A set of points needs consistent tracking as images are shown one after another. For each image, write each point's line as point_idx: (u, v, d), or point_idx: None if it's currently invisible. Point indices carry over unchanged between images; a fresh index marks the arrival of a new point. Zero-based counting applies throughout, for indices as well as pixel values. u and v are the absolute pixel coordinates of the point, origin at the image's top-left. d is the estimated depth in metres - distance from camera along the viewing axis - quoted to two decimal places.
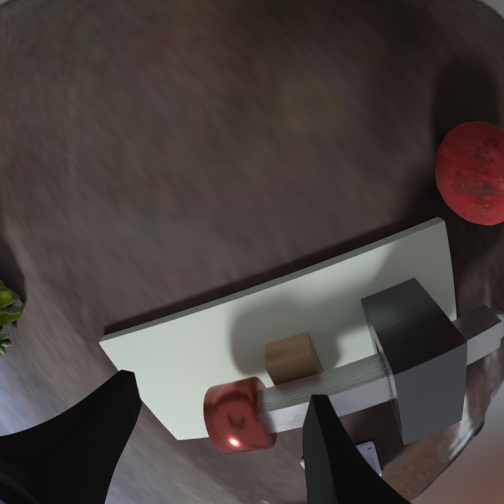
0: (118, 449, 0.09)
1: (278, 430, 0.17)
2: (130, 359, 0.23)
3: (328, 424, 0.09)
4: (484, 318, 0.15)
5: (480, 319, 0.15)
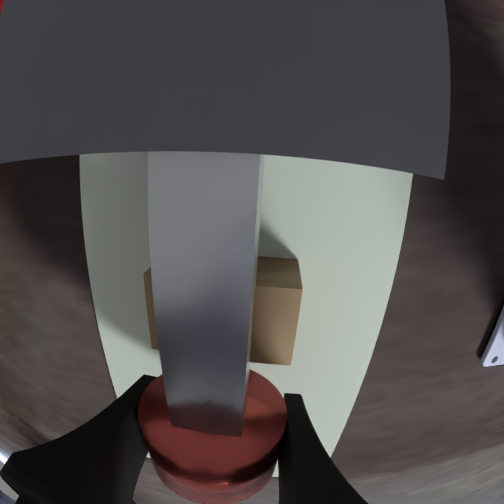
0: (142, 456, 0.09)
1: (236, 424, 0.08)
2: None
3: (297, 423, 0.09)
4: None
5: None
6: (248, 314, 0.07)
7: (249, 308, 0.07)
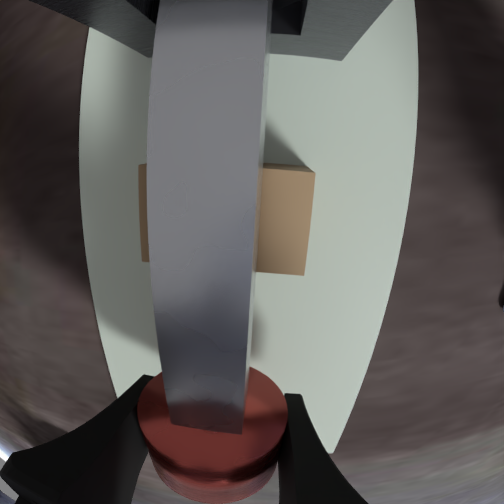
0: (142, 456, 0.09)
1: (236, 421, 0.08)
2: None
3: (297, 424, 0.09)
4: None
5: None
6: (248, 309, 0.07)
7: (249, 302, 0.07)
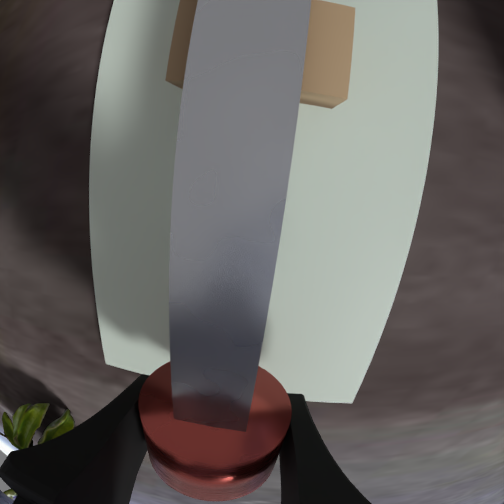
0: (140, 456, 0.09)
1: (242, 418, 0.08)
2: (140, 343, 0.14)
3: (299, 424, 0.09)
4: None
5: None
6: (267, 303, 0.07)
7: (269, 297, 0.07)
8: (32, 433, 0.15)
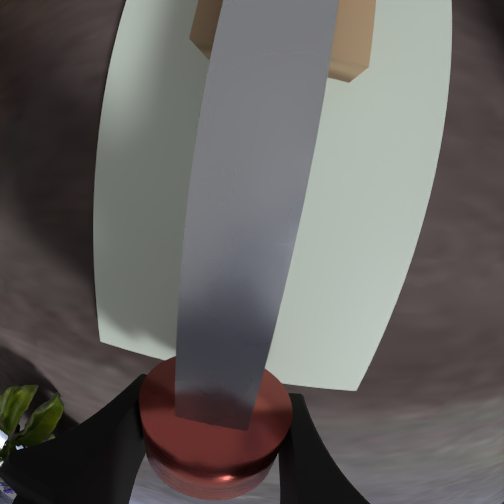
0: (140, 455, 0.09)
1: (245, 417, 0.08)
2: (138, 318, 0.13)
3: (298, 424, 0.09)
4: None
5: None
6: (279, 303, 0.07)
7: (281, 297, 0.06)
8: (19, 416, 0.14)
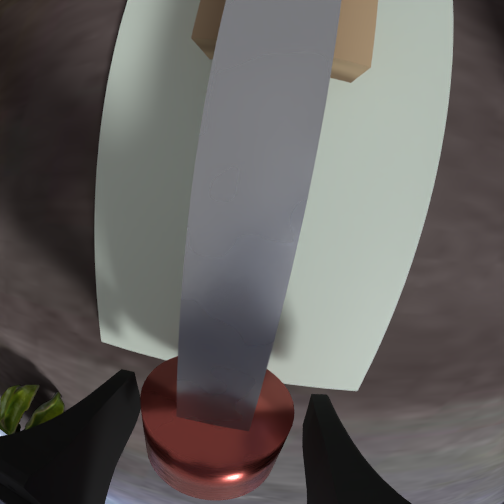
0: (118, 449, 0.09)
1: (247, 417, 0.08)
2: (139, 318, 0.13)
3: (328, 424, 0.09)
4: None
5: None
6: (282, 303, 0.07)
7: (284, 297, 0.06)
8: (20, 416, 0.14)
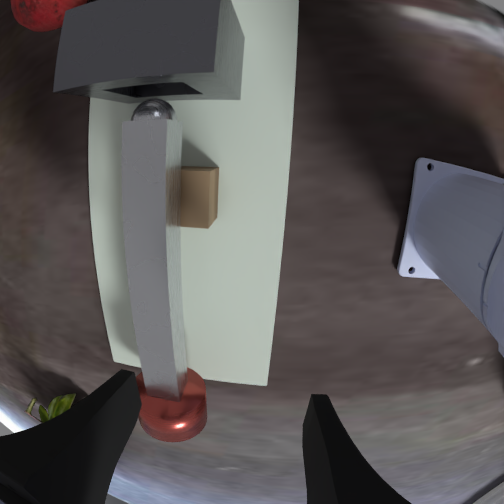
0: (118, 449, 0.09)
1: (176, 395, 0.17)
2: (133, 347, 0.23)
3: (328, 424, 0.09)
4: None
5: None
6: (172, 347, 0.16)
7: (172, 344, 0.16)
8: None
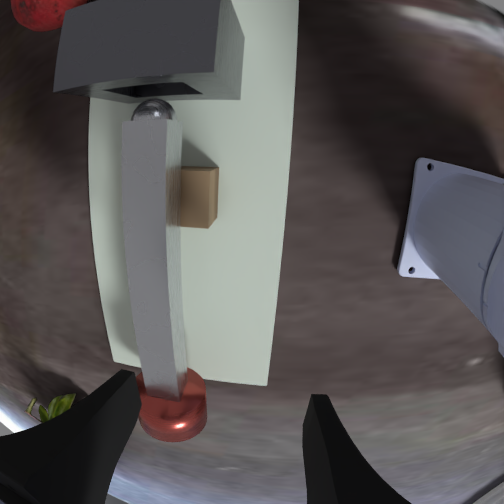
0: (118, 449, 0.09)
1: (176, 395, 0.17)
2: (133, 347, 0.23)
3: (328, 424, 0.09)
4: None
5: None
6: (172, 347, 0.16)
7: (172, 344, 0.16)
8: None
